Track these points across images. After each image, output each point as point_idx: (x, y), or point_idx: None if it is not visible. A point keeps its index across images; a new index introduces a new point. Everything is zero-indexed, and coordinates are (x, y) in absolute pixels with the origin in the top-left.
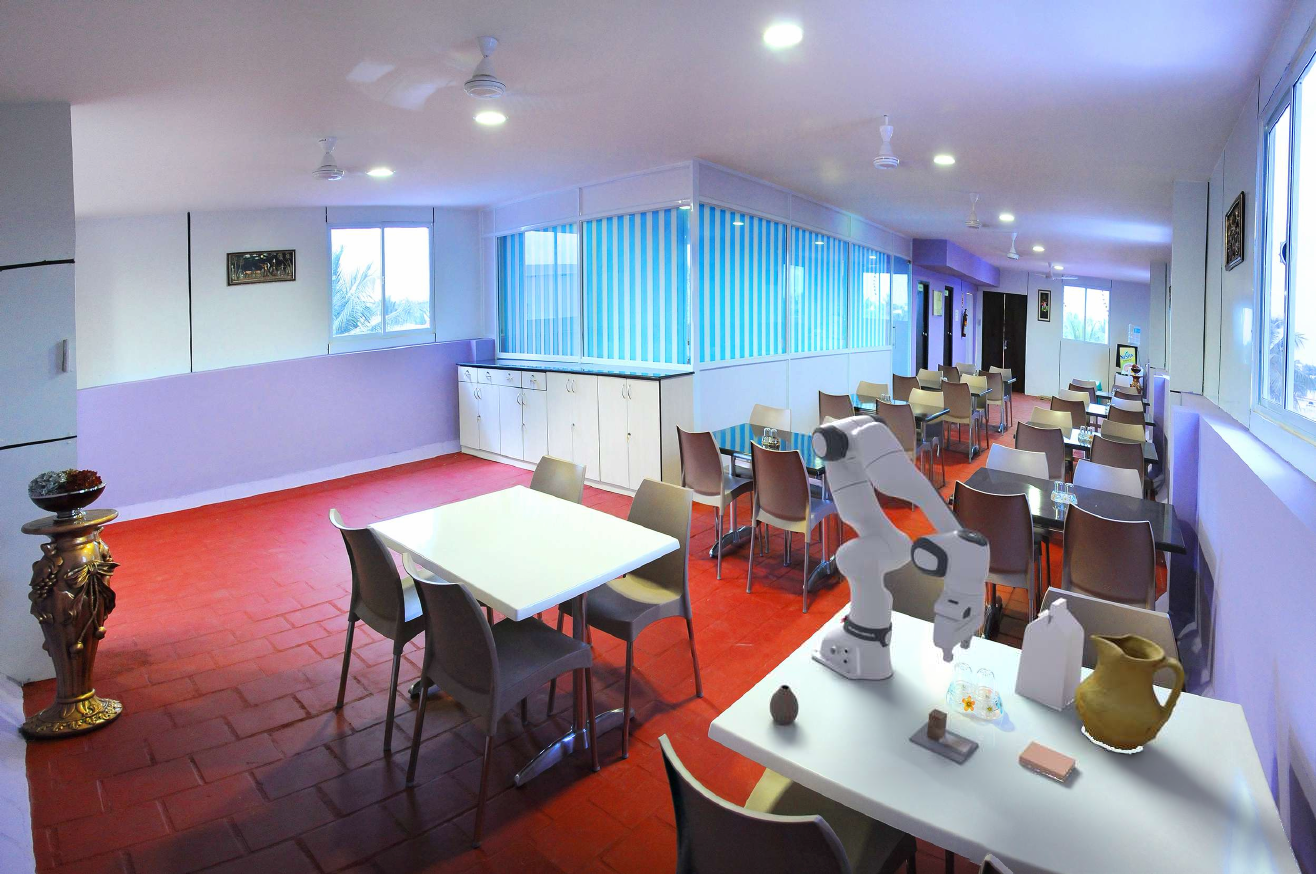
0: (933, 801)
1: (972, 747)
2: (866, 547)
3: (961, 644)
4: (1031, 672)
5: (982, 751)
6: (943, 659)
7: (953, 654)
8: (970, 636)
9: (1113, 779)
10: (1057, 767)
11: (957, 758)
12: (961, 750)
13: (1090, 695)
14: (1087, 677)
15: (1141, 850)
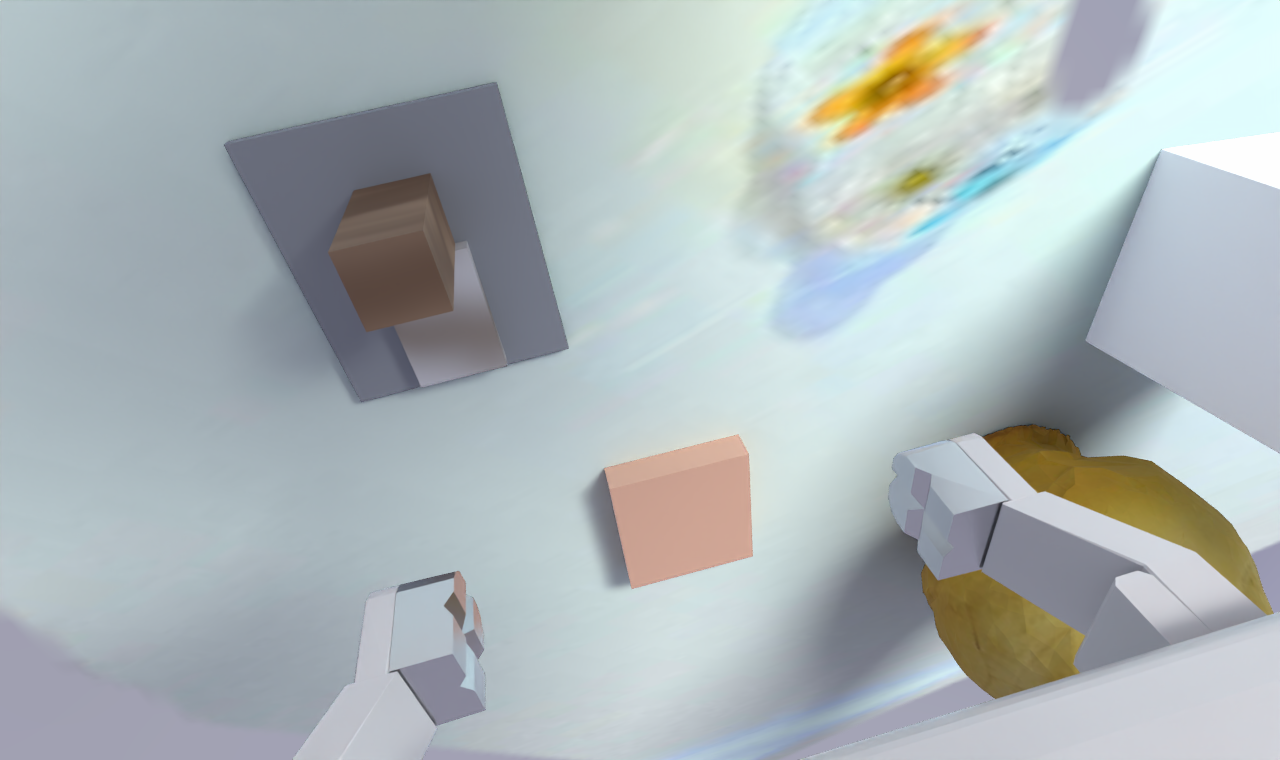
0: (16, 501)
1: (512, 356)
2: None
3: (926, 481)
4: (1268, 268)
5: (542, 376)
6: (368, 602)
7: (477, 712)
8: (1066, 615)
9: (767, 594)
10: (658, 562)
11: (366, 379)
12: (415, 373)
13: (1044, 624)
14: None
15: (529, 732)
